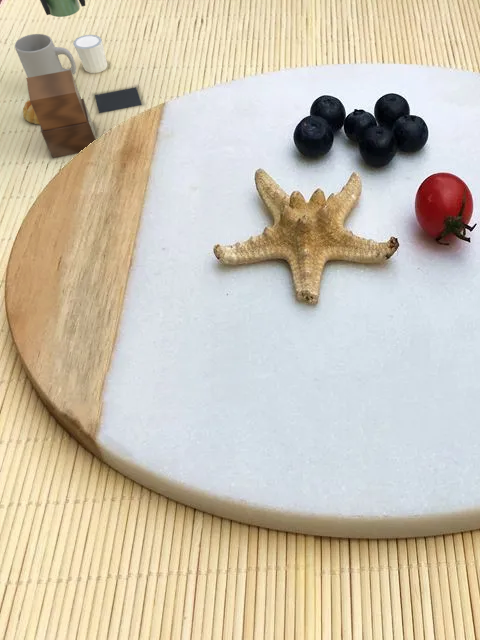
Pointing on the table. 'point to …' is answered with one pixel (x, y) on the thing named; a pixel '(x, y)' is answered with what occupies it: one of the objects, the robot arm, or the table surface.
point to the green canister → (63, 7)
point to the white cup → (91, 53)
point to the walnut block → (61, 113)
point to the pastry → (30, 113)
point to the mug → (41, 55)
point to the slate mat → (118, 100)
